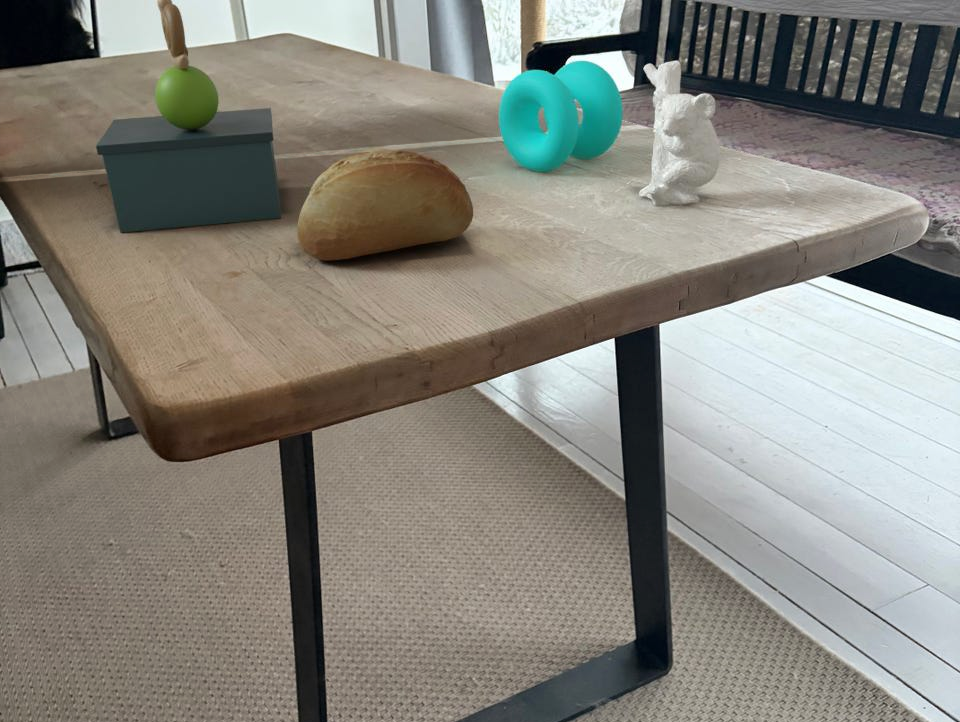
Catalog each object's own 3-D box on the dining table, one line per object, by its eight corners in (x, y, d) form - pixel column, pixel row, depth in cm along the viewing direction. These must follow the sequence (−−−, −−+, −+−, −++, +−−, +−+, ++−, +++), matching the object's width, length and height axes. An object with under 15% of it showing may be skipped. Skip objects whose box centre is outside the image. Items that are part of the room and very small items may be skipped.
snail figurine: (214, 118, 90) (190, -22, 84) (228, 130, 85) (204, -18, 79) (156, 125, 89) (127, -18, 83) (166, 138, 83) (137, -14, 77)
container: (116, 234, 86) (95, 145, 82) (131, 199, 96) (113, 119, 92) (284, 219, 88) (272, 132, 84) (281, 186, 98) (270, 107, 94)
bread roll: (496, 251, 78) (494, 151, 74) (319, 282, 73) (305, 177, 69) (452, 221, 86) (448, 129, 82) (289, 247, 81) (275, 151, 77)
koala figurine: (615, 196, 90) (620, 61, 84) (673, 185, 93) (681, 54, 87) (670, 218, 84) (679, 73, 78) (730, 206, 86) (744, 65, 80)
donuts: (626, 162, 102) (630, 62, 97) (564, 181, 96) (565, 76, 91) (556, 149, 108) (556, 55, 103) (494, 166, 102) (491, 67, 97)
